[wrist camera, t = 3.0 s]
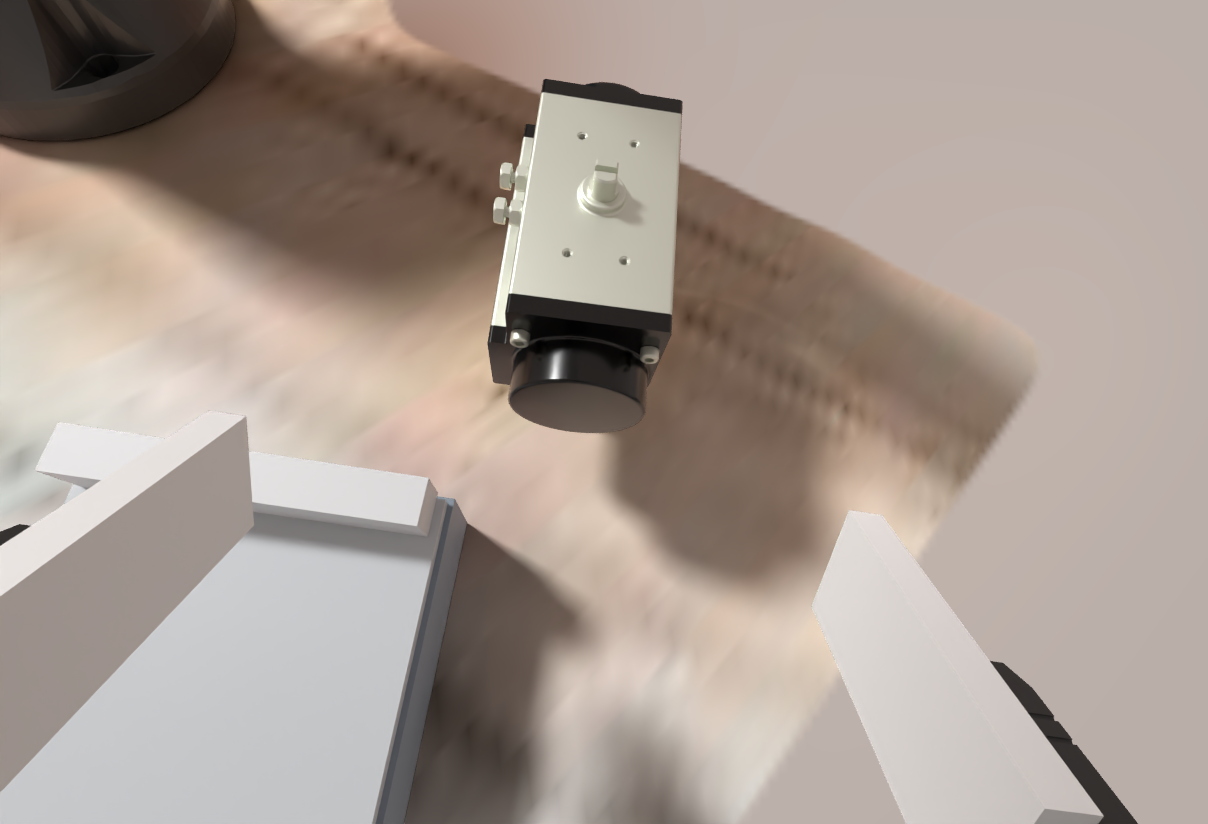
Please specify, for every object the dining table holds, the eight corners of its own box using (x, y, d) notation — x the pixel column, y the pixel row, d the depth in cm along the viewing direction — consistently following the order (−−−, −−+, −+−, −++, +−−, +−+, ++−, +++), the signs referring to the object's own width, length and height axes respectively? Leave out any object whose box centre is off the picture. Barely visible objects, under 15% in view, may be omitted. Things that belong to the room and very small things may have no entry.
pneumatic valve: (634, 257, 31) (692, 39, 20) (617, 480, 27) (678, 362, 15) (525, 242, 30) (522, 11, 19) (490, 466, 26) (460, 334, 15)
